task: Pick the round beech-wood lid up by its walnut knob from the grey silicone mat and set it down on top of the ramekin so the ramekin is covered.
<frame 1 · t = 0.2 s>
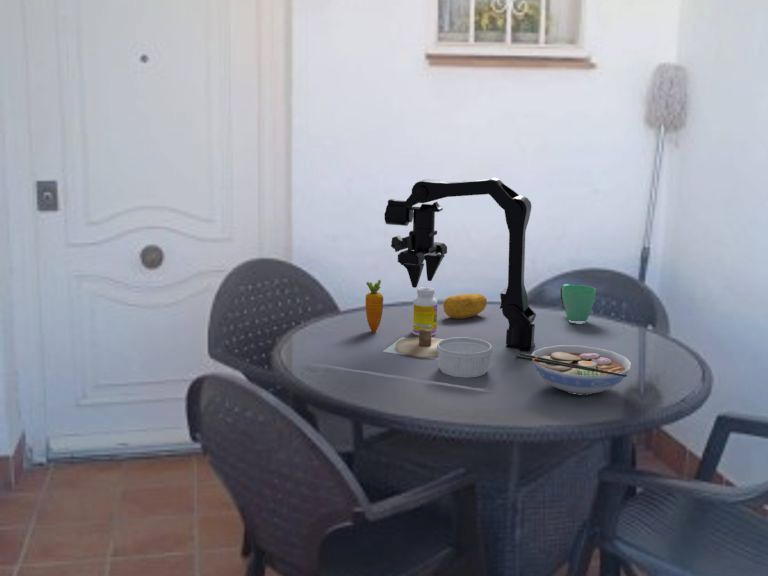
hand: (422, 284, 251), 14 cm above the table, tool pointing down, fingers open, 9 cm apart
carrot: (373, 333, 255), on the table
potato: (464, 318, 273), on the table
supplement bottle: (424, 335, 255), on the table
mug: (572, 320, 273), on the table
mat: (424, 350, 240), on the table
ramekin: (463, 373, 225), on the table
lid: (424, 348, 240), resting on mat
ramen bowl: (578, 390, 214), on the table
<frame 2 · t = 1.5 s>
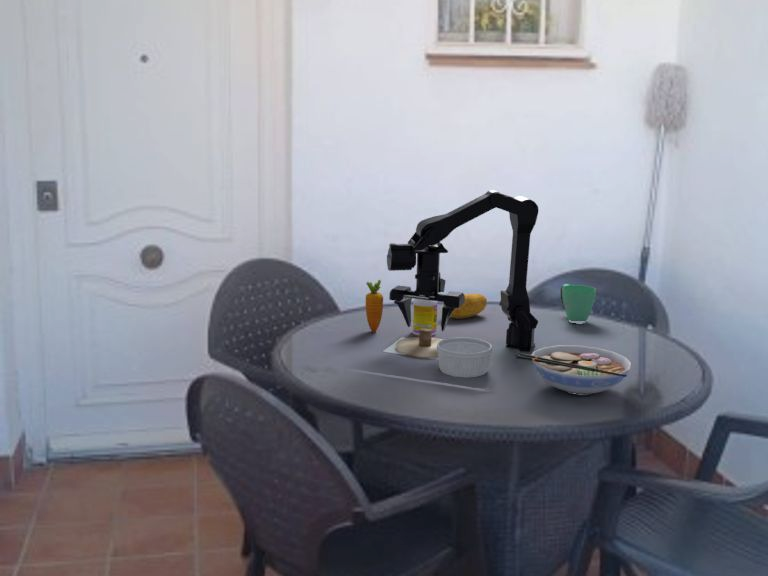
hand: (425, 328, 239), 6 cm above the table, tool pointing down, fingers open, 9 cm apart
nothing on the table moved.
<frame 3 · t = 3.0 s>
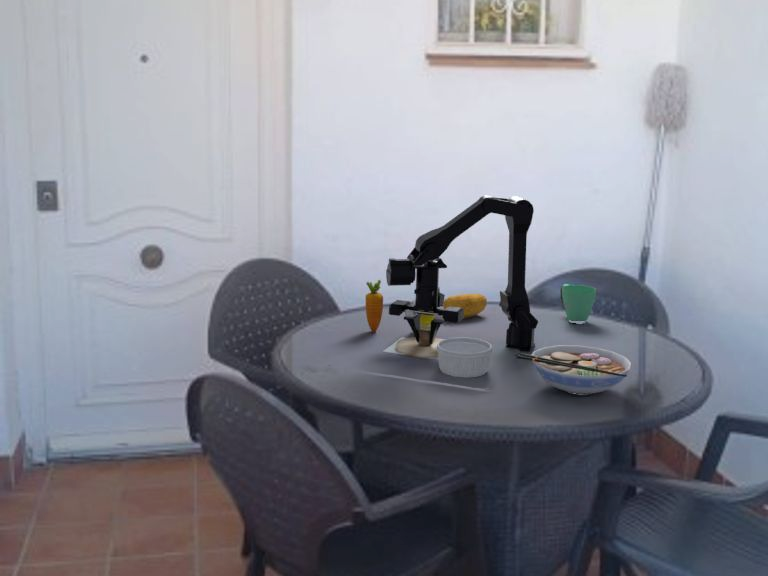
hand: (425, 343, 240), 2 cm above the table, tool pointing down, fingers closed on lid, 3 cm apart
lid: (424, 348, 240), resting on mat, touching gripper
everything else where it was.
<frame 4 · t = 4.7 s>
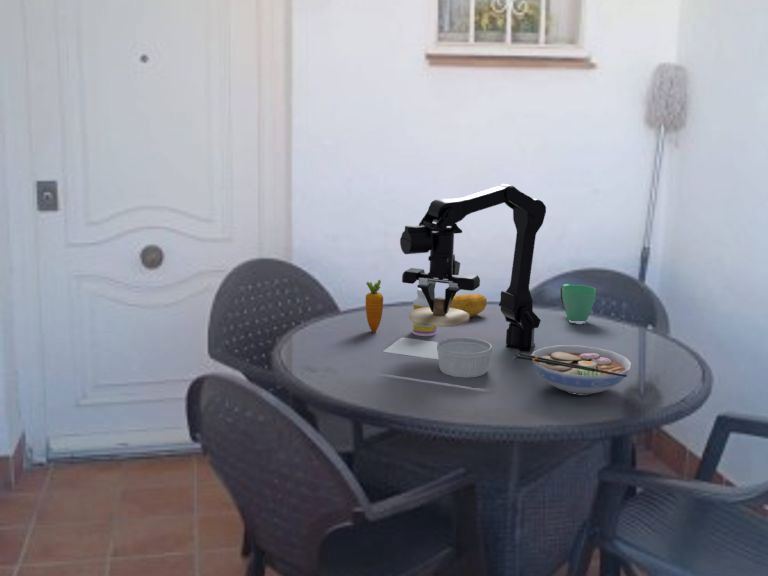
hand: (439, 312, 232), 12 cm above the table, tool pointing down, fingers closed on lid, 3 cm apart
lid: (439, 318, 232), point 10 cm above the table, touching gripper
everything else where it was.
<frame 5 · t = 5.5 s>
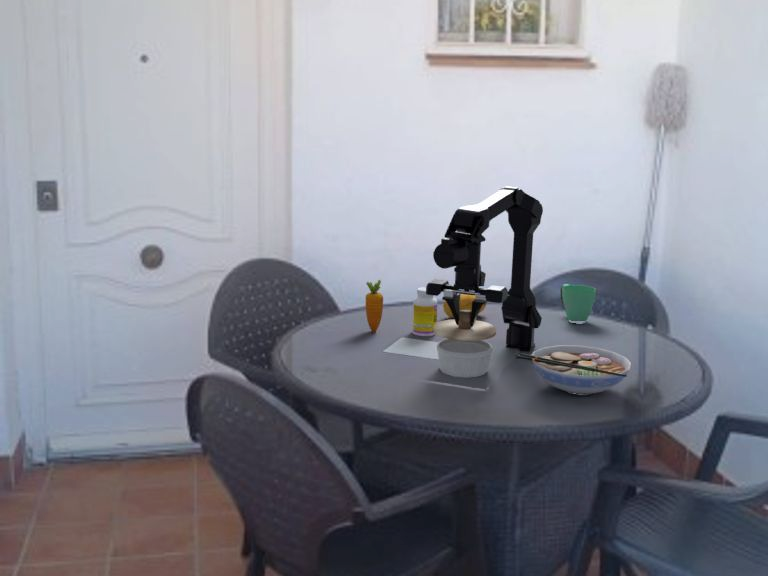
hand: (465, 325, 222), 12 cm above the table, tool pointing down, fingers closed on lid, 3 cm apart
lid: (464, 331, 222), point 10 cm above the table, touching gripper
everything else where it was.
when the fingers open (10 cm above the table, at t = 6.3 s): lid drops 2 cm, resting on ramekin.
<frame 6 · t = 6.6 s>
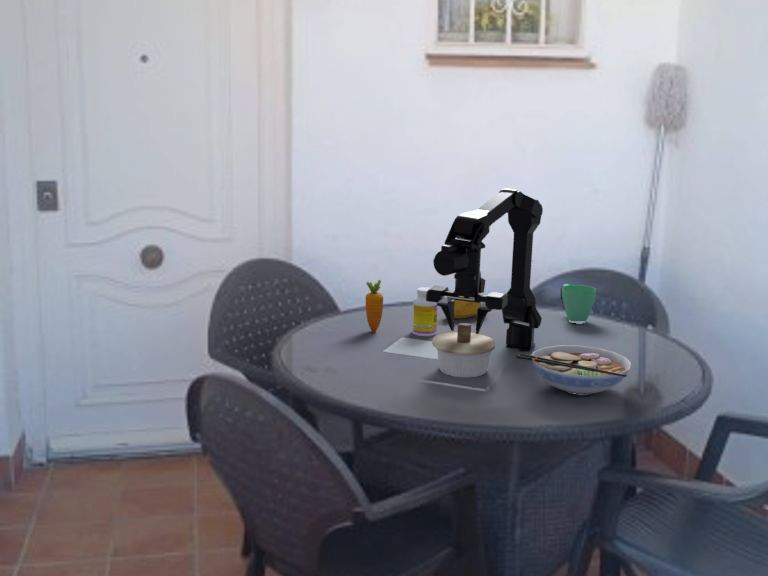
hand: (465, 332, 222), 10 cm above the table, tool pointing down, fingers open, 6 cm apart
ramekin: (462, 372, 225), on the table, touching lid
lid: (463, 345, 223), point 7 cm above the table, touching ramekin
everything else where it was.
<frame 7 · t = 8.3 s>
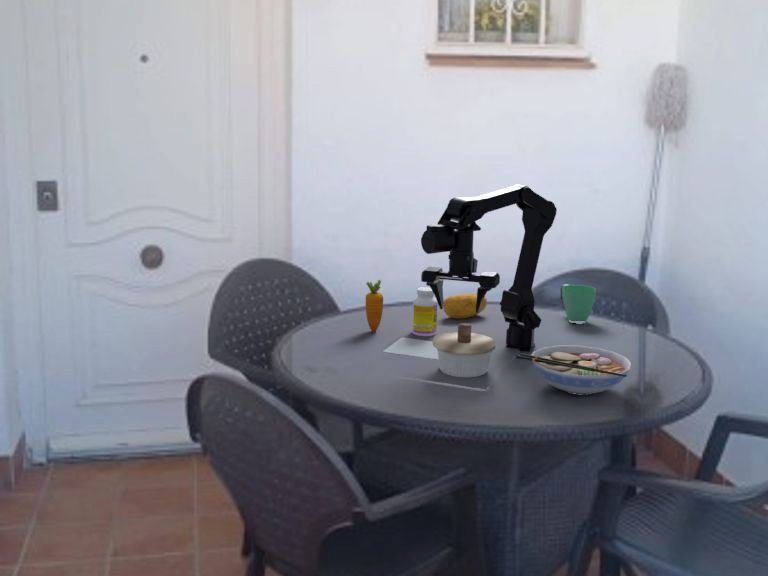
hand: (459, 310, 231), 13 cm above the table, tool pointing down, fingers open, 9 cm apart
nothing on the table moved.
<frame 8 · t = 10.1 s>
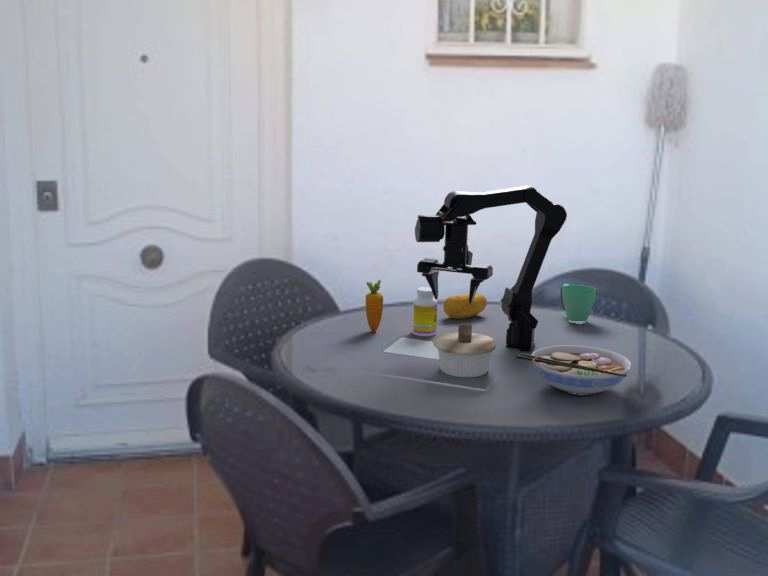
hand: (453, 301, 239), 13 cm above the table, tool pointing down, fingers open, 9 cm apart
nothing on the table moved.
at the end: lid 0.2 cm from the ramekin (horizontally); lid point 6.8 cm above the table; lid tilted 0° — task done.
